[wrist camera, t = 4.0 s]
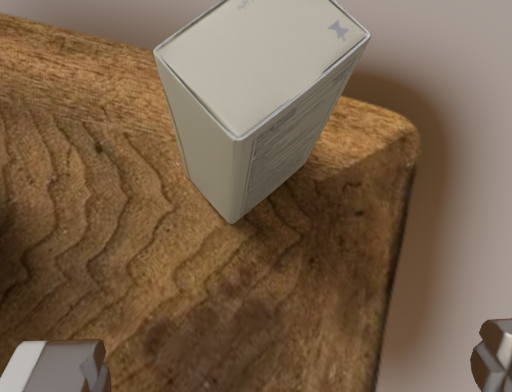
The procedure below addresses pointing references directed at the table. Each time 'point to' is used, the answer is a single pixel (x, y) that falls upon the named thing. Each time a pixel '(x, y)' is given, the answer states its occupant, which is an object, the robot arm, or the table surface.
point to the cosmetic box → (255, 92)
